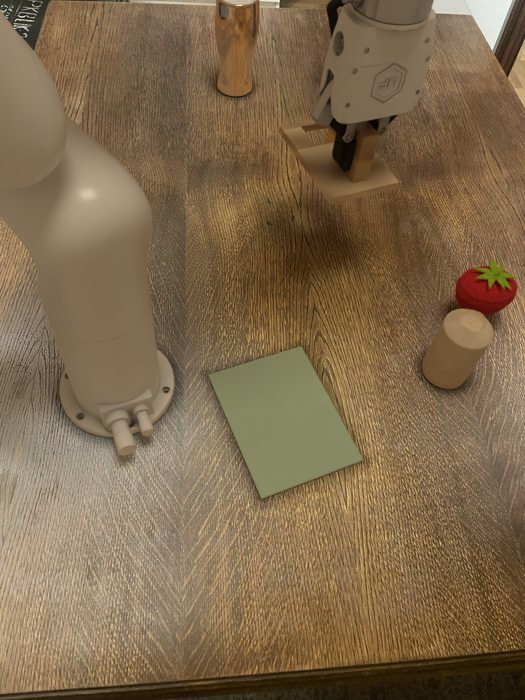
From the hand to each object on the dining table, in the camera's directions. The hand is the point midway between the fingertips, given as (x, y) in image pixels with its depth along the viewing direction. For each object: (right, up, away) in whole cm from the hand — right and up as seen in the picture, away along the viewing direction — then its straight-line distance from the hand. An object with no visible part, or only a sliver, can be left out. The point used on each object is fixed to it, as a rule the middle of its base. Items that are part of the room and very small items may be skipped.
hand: (351, 160), depth 70 cm
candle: (+12, -24, +3) cm, 27 cm away
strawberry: (+17, -18, +9) cm, 26 cm away
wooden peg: (0, +9, +25) cm, 27 cm away
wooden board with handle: (-1, +1, +3) cm, 4 cm away
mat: (-8, -29, -2) cm, 31 cm away
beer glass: (-15, +23, +34) cm, 44 cm away
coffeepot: (+6, +24, +36) cm, 44 cm away
